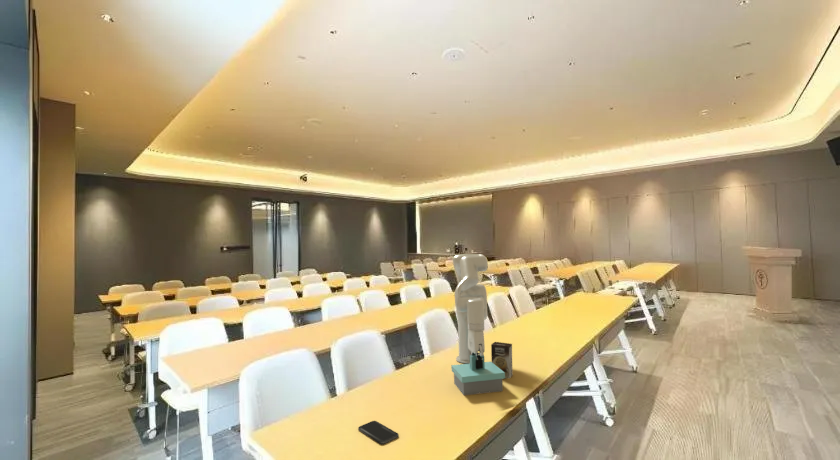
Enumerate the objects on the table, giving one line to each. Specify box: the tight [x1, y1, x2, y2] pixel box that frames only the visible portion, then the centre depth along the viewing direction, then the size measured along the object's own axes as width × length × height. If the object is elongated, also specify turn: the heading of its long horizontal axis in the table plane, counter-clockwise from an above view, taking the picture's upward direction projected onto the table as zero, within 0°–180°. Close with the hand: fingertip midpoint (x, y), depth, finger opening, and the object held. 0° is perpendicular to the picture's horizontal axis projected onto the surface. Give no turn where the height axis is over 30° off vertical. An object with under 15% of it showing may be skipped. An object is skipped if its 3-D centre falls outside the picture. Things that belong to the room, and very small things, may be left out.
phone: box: [358, 420, 400, 446], centre depth 132 cm, size 8×1×15 cm
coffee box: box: [490, 341, 513, 379], centre depth 184 cm, size 9×6×16 cm
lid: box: [450, 354, 506, 383], centre depth 170 cm, size 16×20×8 cm
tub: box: [453, 373, 504, 396], centre depth 170 cm, size 14×18×8 cm
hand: (477, 366), depth 170 cm, fingers open, 4 cm apart
